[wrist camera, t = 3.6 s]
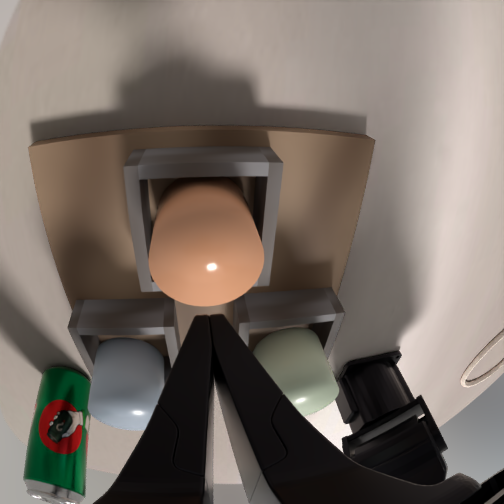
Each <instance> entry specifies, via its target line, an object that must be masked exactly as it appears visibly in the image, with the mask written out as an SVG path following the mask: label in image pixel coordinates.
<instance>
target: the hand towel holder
mask: <svg viewBox="0 0 504 504" xmlns="http://www.w3.org/2000/svg"><path fill="white" fill-rule="evenodd" d="M503 337H504V330H503V331H502V332H501V333H500V334H498V335H497V336H496V337H495V338H494V339H493V340H492V341H491V342H490V343H489V344H488V345H487V346H486V347H485V348H484V349H483V350H482V351H481V352H480V353H479V354H478V355H477V356H476V357H475V359H474V360H473V361H472V362H471V363H470V365H469V366H468V367H467V369H466V370H465V372H464V373H463V375H462V377H461V385H462V386H464V387H471V386H474V385H476V384H478V383H480V382H482V381H484V380H485V379H487V378H488V377H489V376H491V375H492V374H494V373H495V372H496V371H497V370H499V369H500V368H501V367H502V366H503V365H504V359H503V360H502V361H501V362H500V363H499V364H498V365H496V366H495V367H494V368H493V369H491V370H490V371H489V372H487V373H486V374H484V375H483V376H481V377H479V378H478V379H476V380H473V381H470V382H466V381H465V380H466V378H467V376H468V375H469V373H470V372H471V370H472V369H473V368H474V367H475V365H476V364H477V363H478V362H479V361H480V360H481V358H482V357H483V356H484V355H485V354H486V353H487V352H488V351H489V350H490V349H491V348H492V347H493V346H494V345H496V344H497V343H498V342H499V341H500V340H501V339H502V338H503Z"/></svg>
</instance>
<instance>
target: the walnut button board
mask: <svg viewBox="0 0 504 504" xmlns="http://www.w3.org/2000/svg"><path fill="white" fill-rule="evenodd" d="M374 144H375V140H374V139H372V138H370V137H369V136H367V135H361V134H353V133H345V132H335V131H325V130H314V129H302V128H286V127H267V126H173V127H154V128H139V129H127V130H116V131H106V132H97V133H89V134H81V135H74V136H67V137H60V138H54V139H48V140H42V141H37V142H35V143H34V144H32V145H31V146H29V147H28V148H29V155H30V161H31V167H32V172H33V178H34V183H35V188H36V192H37V197H38V201H39V206H40V210H41V214H42V218H43V222H44V226H45V230H46V233H47V237H48V240H49V244H50V247H51V251H52V254H53V257H54V260H55V263H56V267H57V270H58V273H59V276H60V278H61V281H62V284H63V287H64V290H65V293H66V295H67V298H68V301H69V303H70V306H71V308H72V311H73V312H72V315H71V318H70V321H69V324H68V330H69V332H70V335H71V337H72V339H73V341H74V343H75V345H76V347H77V349H78V351H79V353H80V355H81V357H82V359H83V361H84V363H85V365H86V367H87V369H88V371H89V373H90V375H91V376H92V375H93V369H94V363H95V357H96V352H97V348H98V347H99V345H100V344H101V343H103V342H104V341H106V340H108V339H112V338H117V337H128V338H135V339H139V340H142V341H145V342H147V343H149V344H151V345H152V346H154V347H155V348H157V349H158V350H159V351H160V353H161V354H162V356H163V358H164V385H165V383H166V380H167V378H168V376H169V373H170V371H171V369H172V366H173V364H174V362H175V359H176V357H177V355H178V352H179V350H180V348H181V346H182V343H183V341H184V339H185V336H186V334H187V332H188V330H189V327H190V325H191V323H192V320H193V318H194V316H195V315H201V314H208V315H209V316H210V314H219V313H222V314H224V315H225V317H226V318H227V319H228V321H229V322H230V323H231V325H232V326H233V327H234V329H235V330H236V332H237V333H238V334H239V336H240V337H241V338H242V340H243V341H244V342H245V344H246V345H247V346H248V348H249V349H250V350H251V352H252V353H253V351H254V349H255V347H256V345H257V344H258V343H259V342H260V341H261V340H262V339H263V338H265V337H266V336H268V335H269V334H271V333H273V332H276V331H278V330H282V329H285V328H291V327H302V328H307V329H310V330H312V331H314V332H315V333H316V334H317V336H318V338H319V340H320V343H321V345H322V348H323V350H324V353H325V355H326V357H327V360H328V357H329V355H330V352H331V350H332V347H333V344H334V342H335V339H336V337H337V334H338V331H339V328H340V326H341V323H342V320H343V317H344V315H345V311H344V309H343V307H342V305H341V304H340V302H339V300H338V298H337V294H338V291H339V287H340V284H341V281H342V277H343V274H344V270H345V267H346V263H347V260H348V256H349V252H350V249H351V245H352V241H353V237H354V233H355V229H356V226H357V222H358V217H359V213H360V209H361V205H362V201H363V196H364V192H365V188H366V183H367V178H368V174H369V169H370V164H371V159H372V154H373V149H374ZM219 176H225V177H227V178H229V179H230V180H232V181H233V182H234V183H235V184H236V185H237V186H238V187H239V188H240V189H241V191H242V192H243V194H244V196H245V198H246V201H247V204H248V207H249V209H250V212H251V215H252V218H253V220H254V223H255V226H256V229H257V231H258V234H259V237H260V240H261V243H262V246H263V249H264V265H263V269H262V272H261V274H260V276H259V278H258V280H257V281H256V282H255V284H254V285H253V286H252V287H251V288H250V289H249V290H248V291H247V292H246V293H244V294H243V295H241V296H240V297H238V298H236V299H235V300H232V301H230V302H227V303H224V304H221V305H216V306H193V305H188V304H184V303H181V302H179V301H176V300H174V299H173V298H171V297H169V296H168V295H166V294H165V293H164V292H163V291H162V290H161V289H160V288H159V287H158V286H157V285H156V283H155V282H154V280H153V278H152V276H151V273H150V269H149V262H148V259H149V251H150V245H151V239H152V233H153V228H154V222H155V217H156V212H157V207H158V203H159V200H160V198H161V195H162V194H163V192H164V191H165V189H166V188H167V187H168V186H169V185H170V184H171V183H172V182H174V181H175V180H176V179H178V178H183V177H219Z"/></svg>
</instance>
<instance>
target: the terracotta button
mask: <svg viewBox="0 0 504 504" xmlns="http://www.w3.org/2000/svg"><path fill="white" fill-rule="evenodd" d="M148 262H149V269H150V273H151V276H152V278H153V280H154V282H155V283H156V285H157V286H158V287H159V288H160V289H161V290H162V291H163V292H164V293H165V294H166V295H168V296H169V297H171V298H173V299H174V300H176V301H179V302H181V303H184V304H188V305H193V306H216V305H221V304H224V303H227V302H230V301H232V300H235V299H236V298H238V297H240V296H241V295H243V294H244V293H246V292H247V291H248V290H249V289H250V288H251V287H252V286H253V285H254V284H255V282H256V281H257V280H258V278H259V276H260V274H261V272H262V269H263V265H264V249H263V246H262V243H261V240H260V237H259V234H258V231H257V229H256V226H255V223H254V220H253V218H252V215H251V212H250V209H249V207H248V204H247V201H246V198H245V196H244V194H243V192H242V191H241V189H240V188H239V187H238V186H237V185H236V184H235V183H234V182H233V181H232V180H230V179H229V178H227V177H225V176H219V177H183V178H178V179H176V180H175V181H174V182H172V183H171V184H170V185H169V186H168V187H167V188H166V189H165V191H164V192H163V194H162V195H161V198H160V200H159V203H158V207H157V212H156V217H155V222H154V228H153V233H152V239H151V245H150V251H149V259H148Z"/></svg>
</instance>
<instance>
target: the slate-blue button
mask: <svg viewBox="0 0 504 504" xmlns="http://www.w3.org/2000/svg"><path fill="white" fill-rule="evenodd" d="M163 388H164V358H163V356H162V354H161V353H160V351H159V350H158V349H157V348H155V347H154V346H152V345H151V344H149V343H147V342H145V341H142V340H139V339H135V338H128V337H117V338H112V339H108V340H106V341H104V342H103V343H101V344H100V345H99V347H98V348H97V352H96V357H95V363H94V369H93V375H92V381H91V387H90V394H89V401H88V410H89V412H90V414H91V415H92V416H93V417H94V418H96V419H97V420H99V421H100V422H102V423H104V424H106V425H109V426H112V427H115V428H119V429H125V430H145V429H146V427H147V424H148V422H149V420H150V418H151V416H152V413H153V411H154V409H155V406H156V405H157V404H158V403H157V402H158V399H159V397H160V395H161V392H162V390H163Z"/></svg>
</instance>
